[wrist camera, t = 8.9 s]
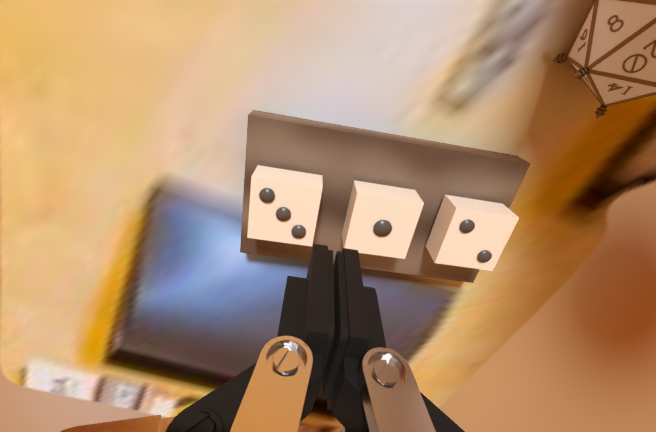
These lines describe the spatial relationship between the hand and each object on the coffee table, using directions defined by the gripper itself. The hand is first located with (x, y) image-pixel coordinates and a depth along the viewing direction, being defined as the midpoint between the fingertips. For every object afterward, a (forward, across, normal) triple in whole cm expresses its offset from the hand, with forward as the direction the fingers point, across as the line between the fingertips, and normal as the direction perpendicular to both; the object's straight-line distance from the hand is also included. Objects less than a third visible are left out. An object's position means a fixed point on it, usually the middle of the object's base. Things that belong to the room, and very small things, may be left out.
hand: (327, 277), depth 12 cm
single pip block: (+14, -5, +4) cm, 15 cm away
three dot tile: (+14, +3, +4) cm, 15 cm away
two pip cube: (+14, -12, +4) cm, 19 cm away
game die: (+17, -18, -11) cm, 27 cm away
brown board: (+16, -5, +4) cm, 18 cm away
